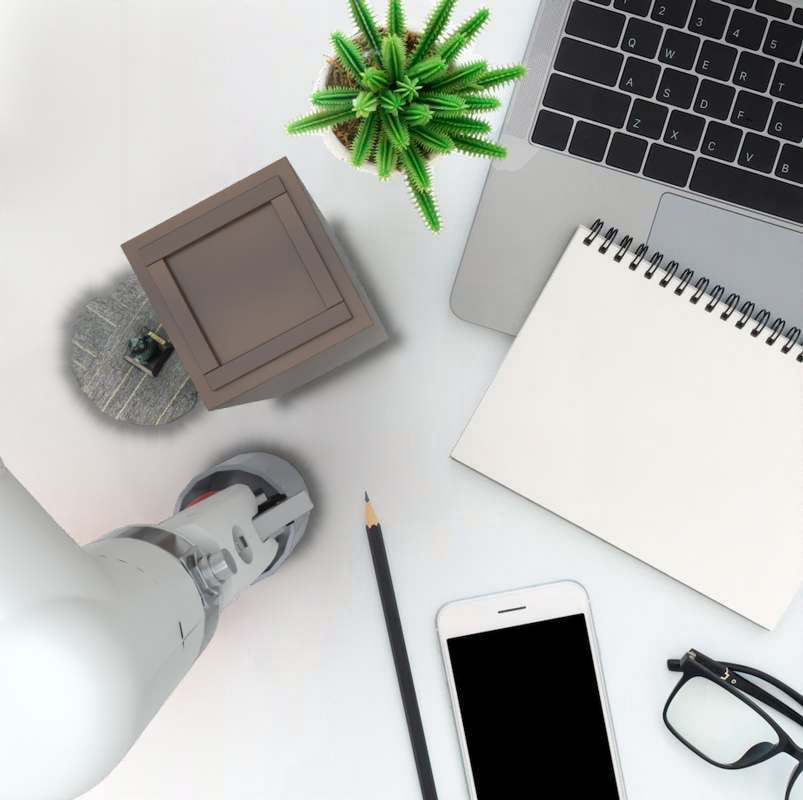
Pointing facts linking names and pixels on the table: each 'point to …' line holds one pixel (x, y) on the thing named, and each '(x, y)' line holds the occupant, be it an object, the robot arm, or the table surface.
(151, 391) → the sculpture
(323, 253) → the crate
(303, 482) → the steel cup
